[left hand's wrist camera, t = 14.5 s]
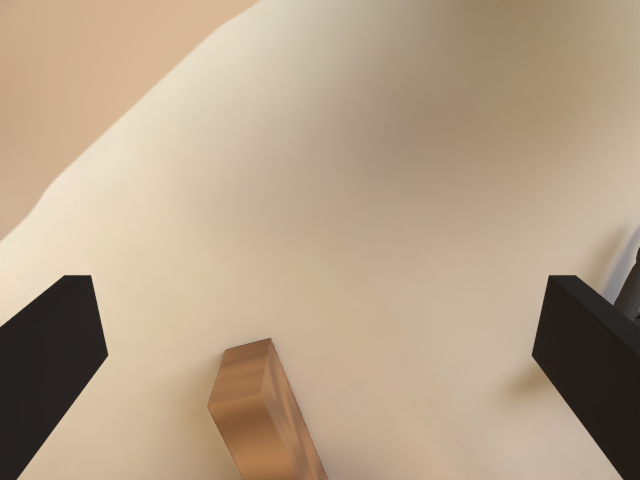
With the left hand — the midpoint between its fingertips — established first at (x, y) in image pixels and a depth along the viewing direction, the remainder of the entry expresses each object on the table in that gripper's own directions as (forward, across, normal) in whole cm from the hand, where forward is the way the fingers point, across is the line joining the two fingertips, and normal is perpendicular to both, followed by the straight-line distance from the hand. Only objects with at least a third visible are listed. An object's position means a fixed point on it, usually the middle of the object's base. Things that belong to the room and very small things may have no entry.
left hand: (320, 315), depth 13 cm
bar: (+28, -4, -31) cm, 42 cm away
